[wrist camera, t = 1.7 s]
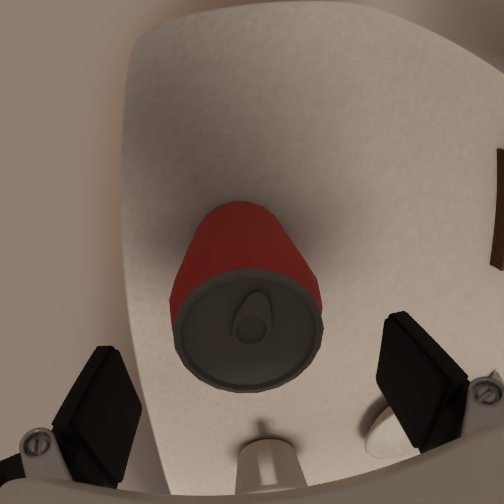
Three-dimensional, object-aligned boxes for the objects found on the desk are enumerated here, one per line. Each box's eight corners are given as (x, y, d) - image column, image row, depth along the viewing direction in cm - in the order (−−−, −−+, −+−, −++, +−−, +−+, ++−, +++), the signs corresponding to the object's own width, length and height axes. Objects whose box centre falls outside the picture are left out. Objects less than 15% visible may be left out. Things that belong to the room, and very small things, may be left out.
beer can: (293, 209, 21) (360, 271, 10) (274, 292, 23) (308, 406, 12) (201, 193, 21) (165, 240, 9) (189, 279, 23) (157, 391, 11)
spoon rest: (348, 447, 31) (363, 489, 25) (370, 386, 28) (396, 434, 21) (476, 406, 33) (497, 433, 26) (505, 348, 29) (533, 374, 22)
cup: (222, 421, 28) (222, 483, 20) (298, 411, 28) (313, 471, 20) (237, 468, 31) (240, 518, 24) (299, 460, 31) (310, 509, 24)
